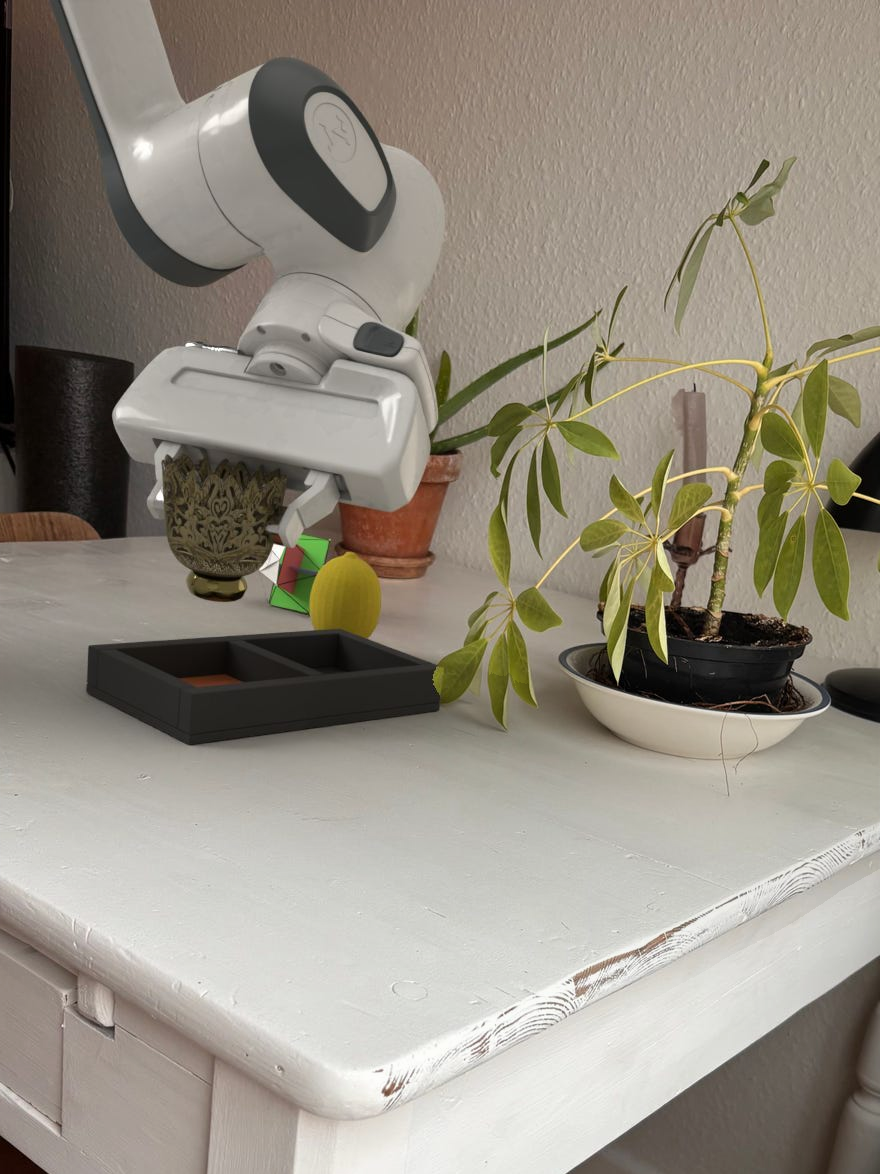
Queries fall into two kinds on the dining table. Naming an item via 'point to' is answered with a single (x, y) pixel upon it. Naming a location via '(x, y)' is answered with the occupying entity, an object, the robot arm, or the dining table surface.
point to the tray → (259, 682)
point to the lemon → (346, 596)
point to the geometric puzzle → (295, 572)
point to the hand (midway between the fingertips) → (218, 526)
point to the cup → (219, 522)
